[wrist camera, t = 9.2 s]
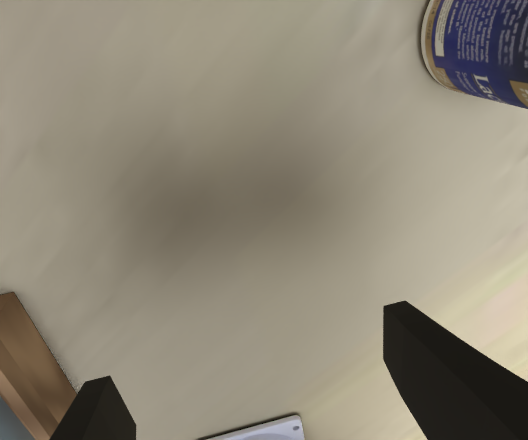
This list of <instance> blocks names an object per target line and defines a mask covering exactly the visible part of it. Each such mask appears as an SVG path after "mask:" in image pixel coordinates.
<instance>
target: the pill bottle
mask: <svg viewBox="0 0 528 440" xmlns="http://www.w3.org/2000/svg"><path fill="white" fill-rule="evenodd" d="M421 48H422V54H423V58H424V61H425V64H426V67H427V69H428V70H429V72H430V74H431V75H432V76H433V78H434V79H435V80H436V81H437V82H439V83H440V84H441V85H443V86H444V87H446V88H448V89H451V90H454V91H458V92H461V93H465V94H469V95H473V96H477V97H481V98H485V99H490V100H494V101H497V102H502V103H505V104H510V105H514V106H518V107H522V108H526V109H528V0H430V2H429V5H428V7H427V10H426V13H425V16H424V20H423V25H422V32H421Z"/></svg>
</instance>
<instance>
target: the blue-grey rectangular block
mask: <svg viewBox="0 0 528 440" xmlns="http://www.w3.org/2000/svg"><path fill="white" fill-rule="evenodd" d="M0 440H35V439H34V437H33V436H32V435H31V434H30V432H29V431H28V430H27V429H26V427H25V426H24V425H23V424H22V422H21V421H20V420H19V419H18V417H17V416H16V415H15V414H14V412H13V411H12V410H11V409H10V407H9V406H8V405H7V404H6V402H5V401H4V400H3V399H2V398H1V396H0Z"/></svg>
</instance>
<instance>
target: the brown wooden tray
mask: <svg viewBox="0 0 528 440" xmlns="http://www.w3.org/2000/svg"><path fill="white" fill-rule="evenodd" d="M76 395H77V394H76V392H75V391H74V389H73V388H72V386H71V384H70V383H69V381H68V379H67V378H66V376H65V375H64V373H63V371H62V370H61V368H60V366H59V365H58V363H57V362H56V360H55V358H54V357H53V355H52V354H51V352H50V350H49V349H48V347H47V345H46V344H45V342H44V341H43V339H42V337H41V336H40V334H39V332H38V331H37V329H36V328H35V326H34V324H33V323H32V321H31V319H30V318H29V316H28V315H27V313H26V311H25V310H24V308H23V307H22V305H21V303H20V302H19V300H18V298H17V297H16V295H15V294H14V292H12V293H7V294H3V295H0V396H1V398H2V399H3V400H4V401H5V402H6V404H7V405H8V406H9V407H10V409H11V410H12V411H13V412H14V414H15V415H16V416H17V417H18V419H19V420H20V421H21V422H22V424H23V425H24V426H25V427H26V429H27V430H28V431H29V432H30V434H31V435H32V436H33V437H34V439H35V440H49V439H50V437H51V436H52V434H53V433H54V431H55V429H56V428H57V426H58V424H59V423H60V421H61V420H62V418H63V416H64V415H65V413H66V411H67V410H68V408H69V407H70V405H71V403H72V402H73V400H74V399H75V397H76Z"/></svg>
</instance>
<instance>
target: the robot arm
mask: <svg viewBox="0 0 528 440" xmlns="http://www.w3.org/2000/svg"><path fill="white" fill-rule="evenodd" d="M383 359H384V362H385V364H386V366H387V368H388V370H389V372H390V375H391V377H392V379H393V381H394V383H395V385H396V387H397V389H398V391H399V393H400V395H401V397H402V399H403V400H404V402H405V404H406V405H407V407H408V408H409V410H410V412H411V413H412V415H413V417H414V418H415V420H416V421H417V423H418V425H419V426H420V428H421V430H422V431H423V433H424V434H425V436H426V438H427V439H428V440H528V382H527V381H525V380H524V379H522V378H520V377H519V376H517V375H515V374H514V373H512V372H510V371H509V370H507V369H506V368H504V367H502V366H501V365H499V364H498V363H496V362H494V361H493V360H491V359H490V358H488V357H487V356H485V355H484V354H482V353H481V352H479V351H478V350H476V349H475V348H473V347H472V346H470V345H468V344H467V343H465V342H464V341H463V340H461V339H460V338H458V337H457V336H455V335H454V334H452V333H451V332H449V331H448V330H447V329H445V328H444V327H442V326H441V325H439V324H438V323H437V322H435V321H434V320H432V319H431V318H429V317H428V316H427V315H425V314H424V313H422V312H421V311H420V310H418V309H417V308H415V307H414V306H412V305H411V304H409V303H408V302H407V301H401V302H397V303H394V304H390V305H386V306H384V317H383ZM49 440H136V424H135V422H134V420H133V418H132V416H131V414H130V412H129V411H128V409H127V407H126V405H125V403H124V401H123V399H122V397H121V395H120V394H119V392H118V390H117V388H116V386H115V384H114V382H113V380H112V378H111V377H110V376H106V377H102V378H98V379H95V380H91V381H87V382H85V383H84V384H83V386H82V387H81V389H80V391H79V392H78V394H77V395H76V397H75V399H74V400H73V402H72V403H71V405H70V407H69V408H68V410H67V411H66V413H65V415H64V416H63V418H62V420H61V421H60V423H59V424H58V426H57V428H56V429H55V431H54V433H53V434H52V436H51V437H50V439H49ZM206 440H305V439H304V433H303V427H302V421H301V418H300V416H298V415H294V416H290V417H286V418H282V419H279V420H275V421H272V422H268V423H264V424H261V425H257V426H253V427H250V428H246V429H243V430H239V431H235V432H232V433H228V434H224V435H221V436H217V437H214V438H210V439H206Z"/></svg>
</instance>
